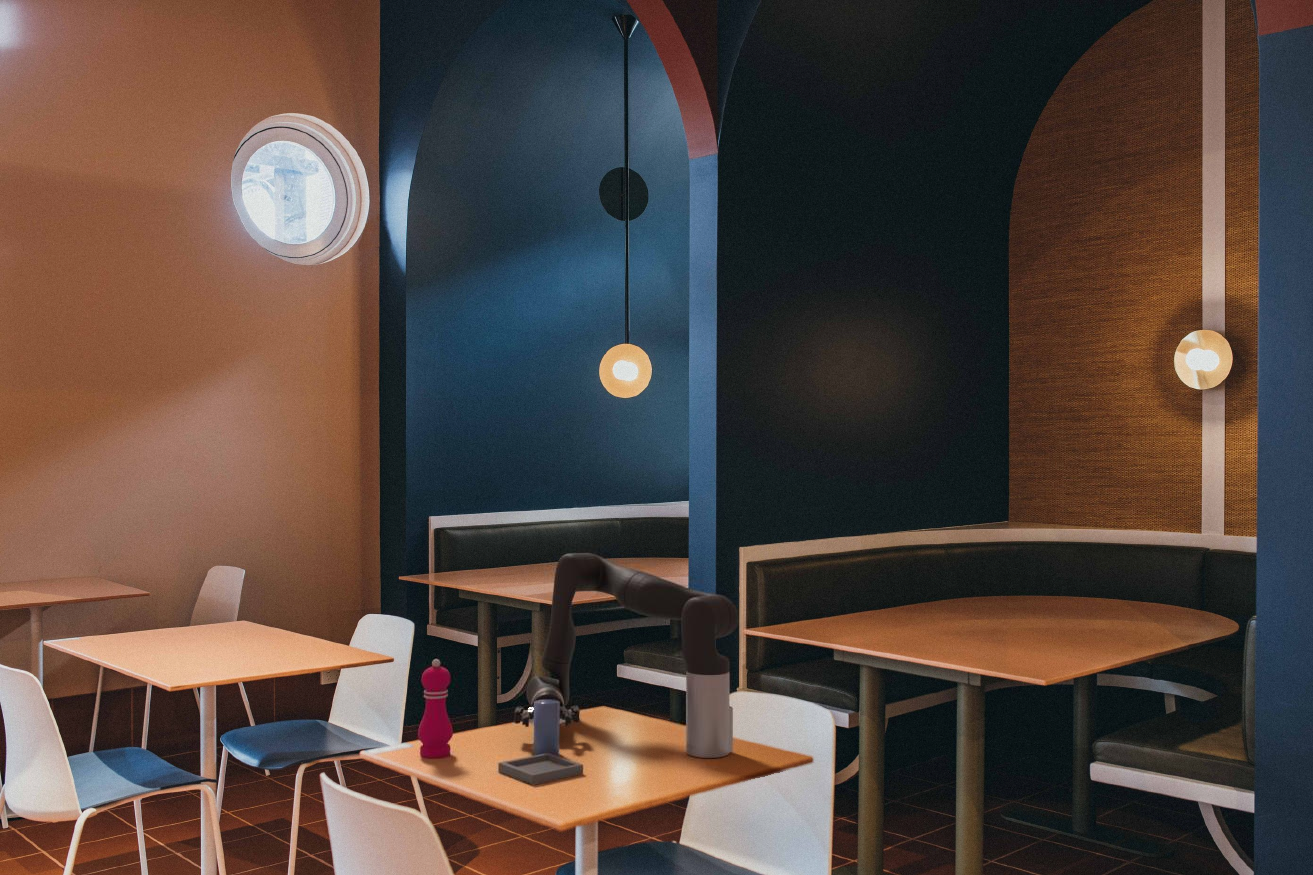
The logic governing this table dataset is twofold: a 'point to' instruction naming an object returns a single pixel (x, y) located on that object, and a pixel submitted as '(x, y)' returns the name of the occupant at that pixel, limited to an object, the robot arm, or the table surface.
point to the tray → (540, 768)
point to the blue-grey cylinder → (546, 727)
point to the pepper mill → (435, 713)
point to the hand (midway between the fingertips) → (547, 721)
